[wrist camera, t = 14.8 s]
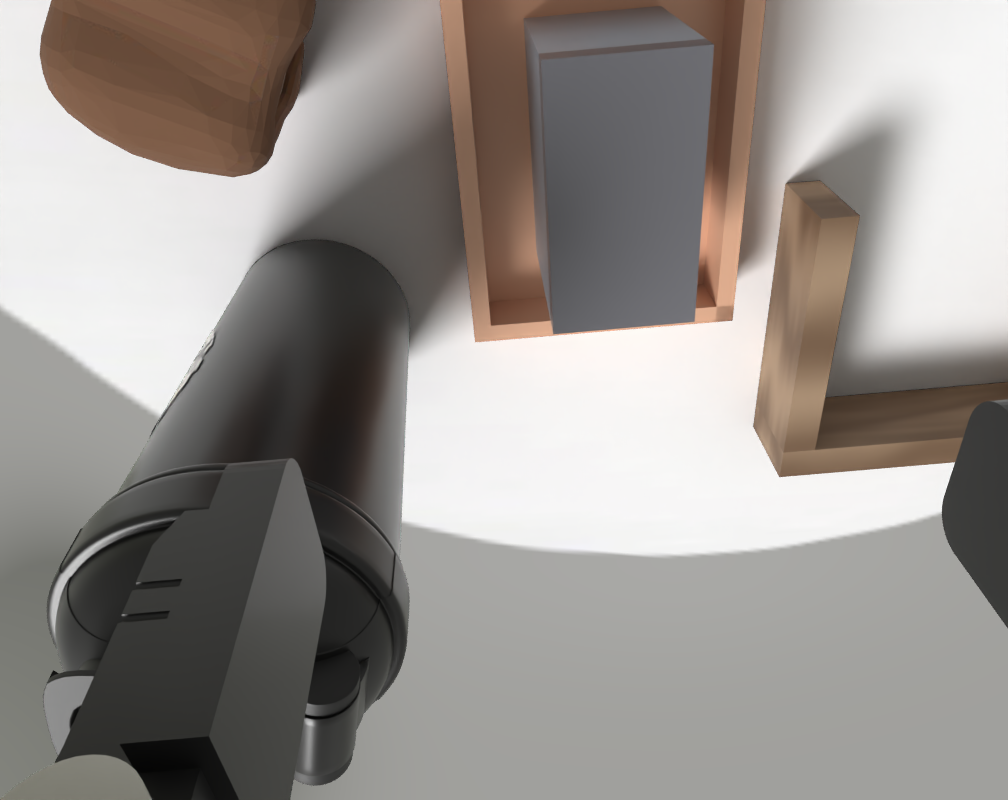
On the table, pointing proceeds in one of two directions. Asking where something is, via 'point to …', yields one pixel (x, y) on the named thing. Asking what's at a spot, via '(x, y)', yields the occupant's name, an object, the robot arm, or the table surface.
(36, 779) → the robot arm
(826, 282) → the bay
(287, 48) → the toy
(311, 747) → the water bottle
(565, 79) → the grey rectangular prism
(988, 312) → the table surface
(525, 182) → the tray
